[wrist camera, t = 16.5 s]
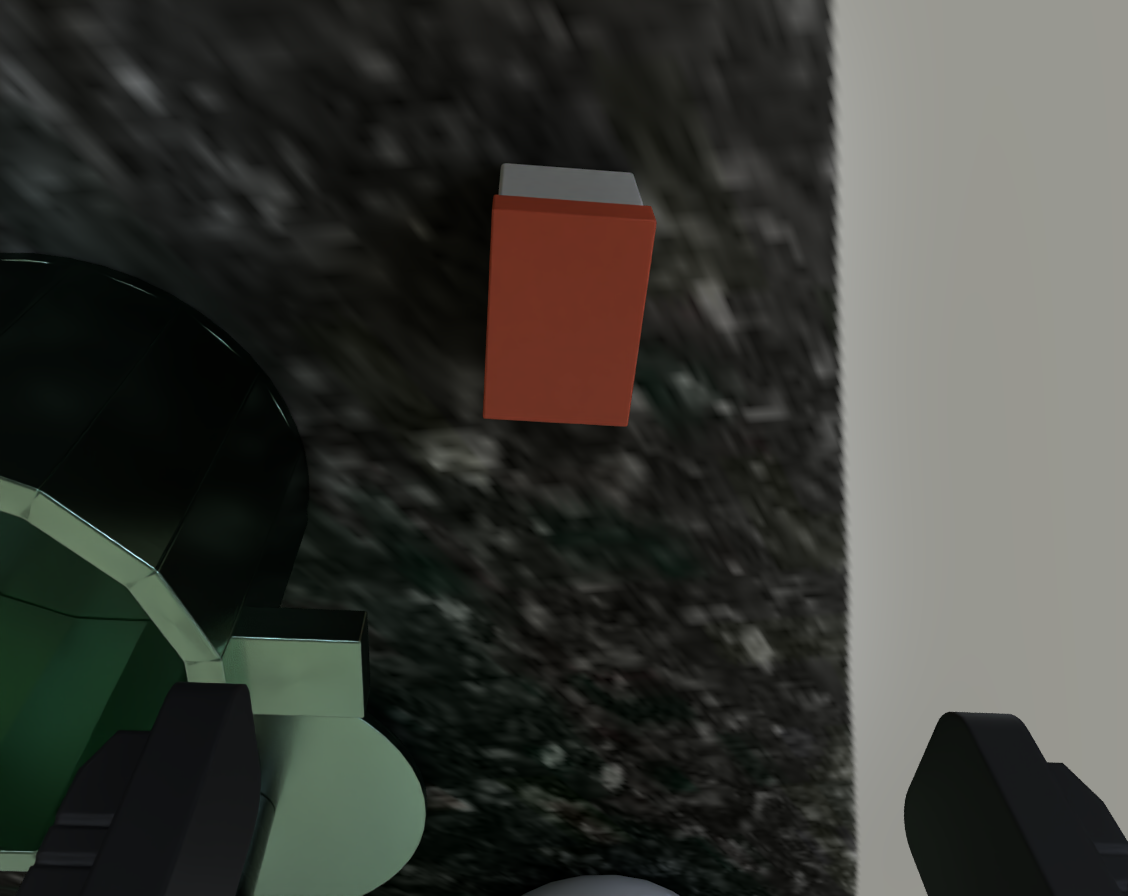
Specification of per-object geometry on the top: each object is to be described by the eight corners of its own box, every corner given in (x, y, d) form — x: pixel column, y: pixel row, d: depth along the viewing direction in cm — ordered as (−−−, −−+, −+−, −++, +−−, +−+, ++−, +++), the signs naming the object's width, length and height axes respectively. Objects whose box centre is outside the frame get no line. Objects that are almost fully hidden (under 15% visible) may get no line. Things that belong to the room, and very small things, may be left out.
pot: (-354, 226, 22) (-775, 403, 15) (401, 277, 23) (344, 461, 16) (-173, 615, 29) (-404, 864, 22) (404, 637, 30) (366, 879, 23)
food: (497, 157, 22) (492, 208, 19) (638, 167, 22) (657, 221, 19) (488, 346, 25) (482, 419, 21) (614, 353, 25) (627, 427, 22)
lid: (7, 642, 30) (-124, 840, 24) (430, 658, 31) (406, 851, 25) (88, 887, 37) (3, 1085, 31) (427, 894, 38) (409, 1087, 32)
